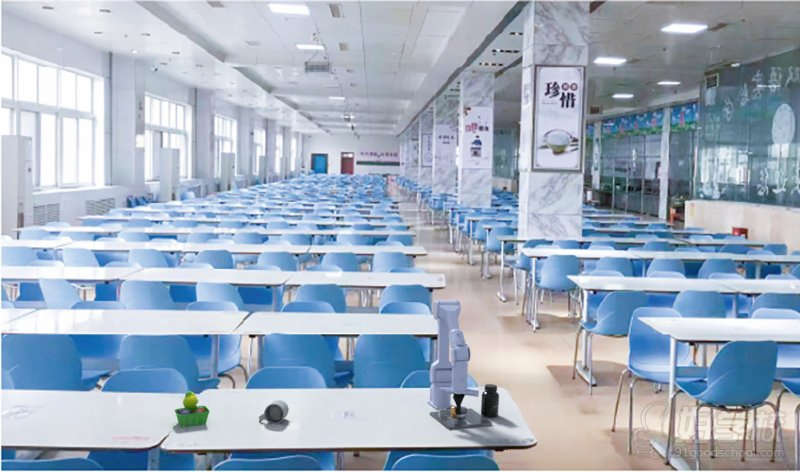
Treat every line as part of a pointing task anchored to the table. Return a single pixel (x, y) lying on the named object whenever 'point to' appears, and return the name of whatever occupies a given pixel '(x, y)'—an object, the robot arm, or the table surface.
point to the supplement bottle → (490, 401)
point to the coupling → (453, 411)
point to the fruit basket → (191, 411)
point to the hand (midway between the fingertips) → (458, 413)
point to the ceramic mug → (275, 412)
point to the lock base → (460, 419)
